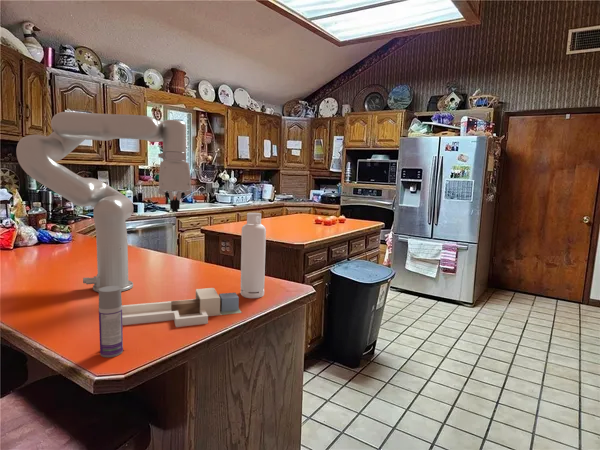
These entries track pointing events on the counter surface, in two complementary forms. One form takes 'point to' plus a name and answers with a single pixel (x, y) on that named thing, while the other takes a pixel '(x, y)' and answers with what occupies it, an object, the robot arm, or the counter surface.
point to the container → (110, 321)
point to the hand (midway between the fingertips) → (174, 211)
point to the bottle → (253, 257)
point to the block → (229, 302)
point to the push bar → (188, 306)
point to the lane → (164, 313)
